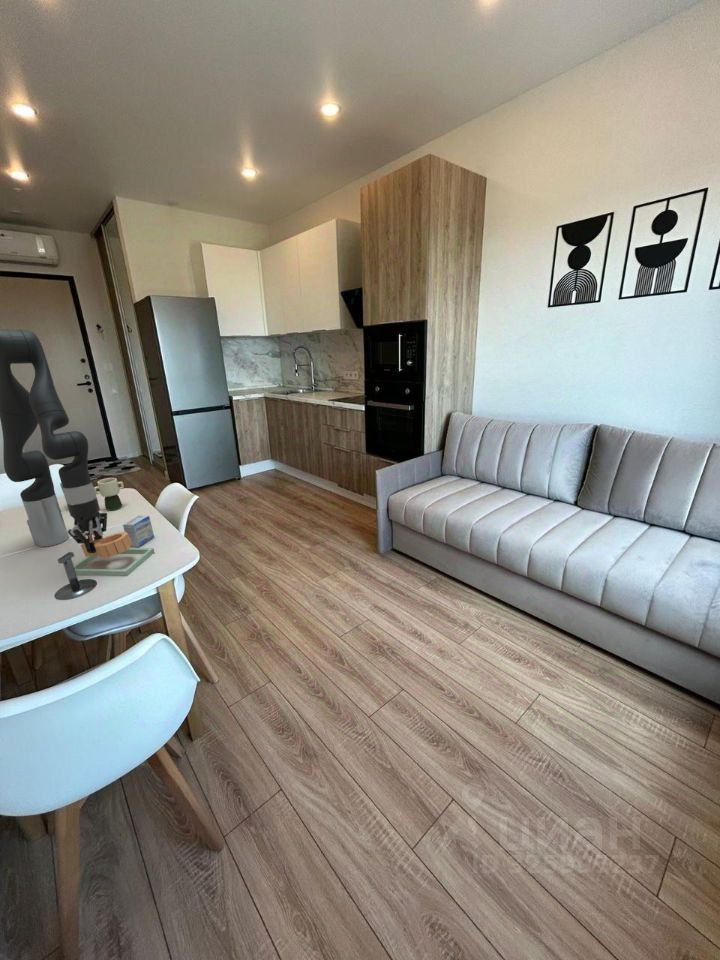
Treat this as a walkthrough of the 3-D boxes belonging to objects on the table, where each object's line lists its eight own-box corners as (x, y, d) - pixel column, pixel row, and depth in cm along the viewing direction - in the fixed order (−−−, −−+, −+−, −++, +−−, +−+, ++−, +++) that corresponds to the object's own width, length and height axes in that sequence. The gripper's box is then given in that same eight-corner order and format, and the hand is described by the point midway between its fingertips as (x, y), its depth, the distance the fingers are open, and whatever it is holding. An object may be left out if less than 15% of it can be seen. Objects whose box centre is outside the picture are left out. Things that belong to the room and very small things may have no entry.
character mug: (127, 502, 175) (120, 475, 171) (129, 507, 170) (122, 479, 166) (98, 509, 169) (91, 481, 165) (100, 514, 164) (92, 485, 159)
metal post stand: (46, 602, 106) (32, 565, 102) (74, 581, 115) (63, 546, 111) (80, 603, 105) (68, 565, 101) (106, 582, 114) (95, 547, 111)
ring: (78, 561, 118) (73, 550, 117) (99, 547, 127) (94, 536, 126) (119, 555, 116) (114, 543, 115) (138, 541, 125) (133, 530, 124)
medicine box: (139, 547, 134) (133, 525, 131) (128, 546, 135) (122, 524, 132) (154, 537, 142) (149, 515, 139) (144, 536, 142) (139, 514, 140)
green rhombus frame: (68, 577, 117) (66, 570, 117) (101, 554, 131) (99, 547, 130) (127, 578, 116) (126, 571, 115) (155, 554, 129) (153, 548, 128)
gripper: (87, 490, 123) (101, 539, 129) (50, 508, 110) (67, 561, 115) (109, 490, 122) (122, 539, 128) (75, 507, 109) (91, 561, 115)
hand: (96, 549), depth 122 cm, fingers closed on ring, 3 cm apart
